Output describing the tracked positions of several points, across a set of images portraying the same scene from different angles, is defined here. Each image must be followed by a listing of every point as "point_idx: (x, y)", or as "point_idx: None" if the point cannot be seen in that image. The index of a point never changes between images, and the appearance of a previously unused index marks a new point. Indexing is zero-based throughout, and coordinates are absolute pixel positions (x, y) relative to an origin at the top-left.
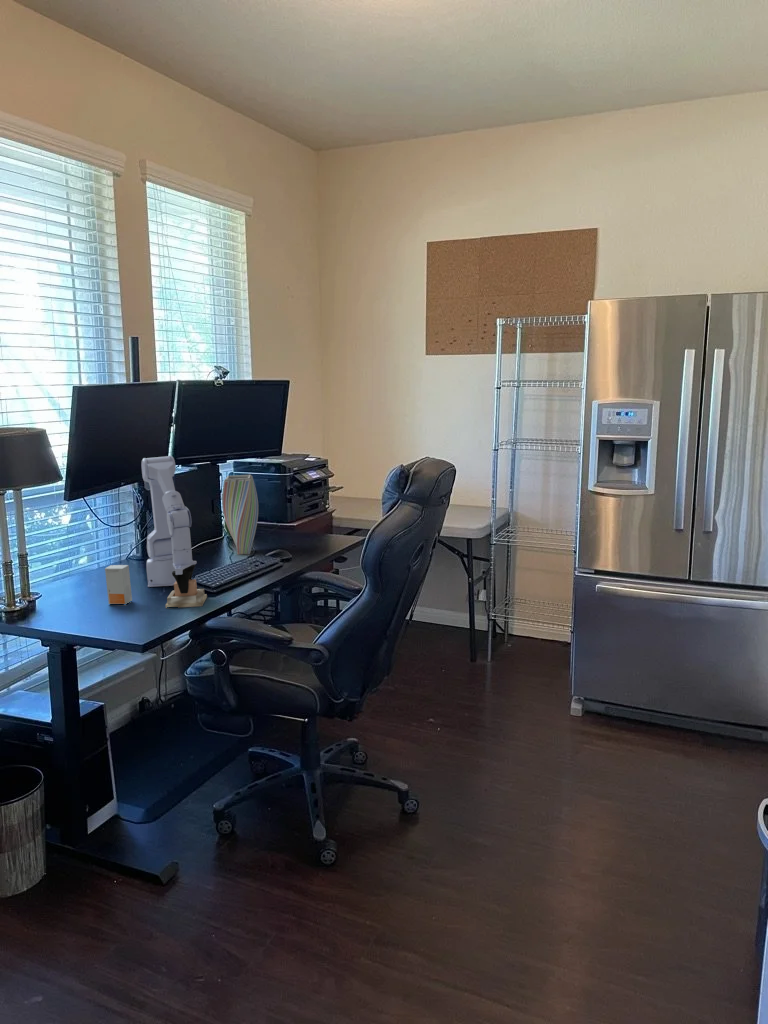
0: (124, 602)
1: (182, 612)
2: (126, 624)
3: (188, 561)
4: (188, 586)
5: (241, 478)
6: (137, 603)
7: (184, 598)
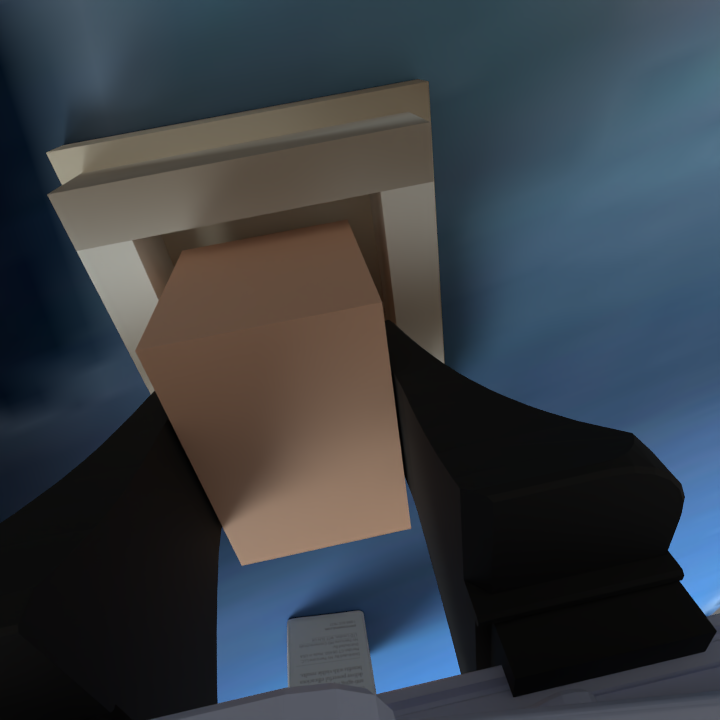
0: (365, 632)
1: (580, 231)
2: (701, 479)
3: None
4: (389, 351)
5: None
6: (324, 584)
7: (435, 309)
